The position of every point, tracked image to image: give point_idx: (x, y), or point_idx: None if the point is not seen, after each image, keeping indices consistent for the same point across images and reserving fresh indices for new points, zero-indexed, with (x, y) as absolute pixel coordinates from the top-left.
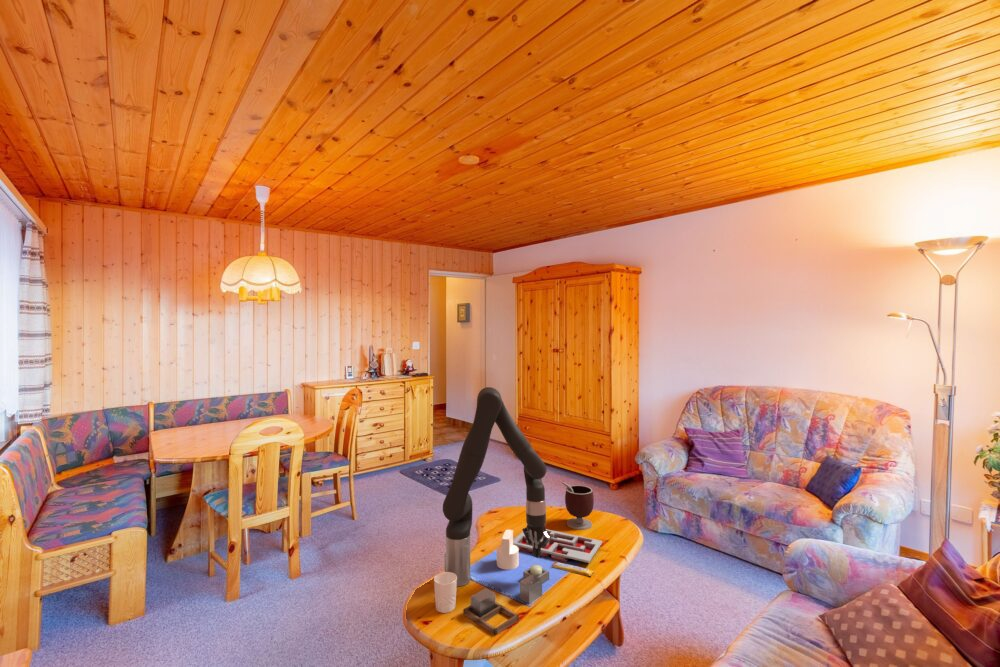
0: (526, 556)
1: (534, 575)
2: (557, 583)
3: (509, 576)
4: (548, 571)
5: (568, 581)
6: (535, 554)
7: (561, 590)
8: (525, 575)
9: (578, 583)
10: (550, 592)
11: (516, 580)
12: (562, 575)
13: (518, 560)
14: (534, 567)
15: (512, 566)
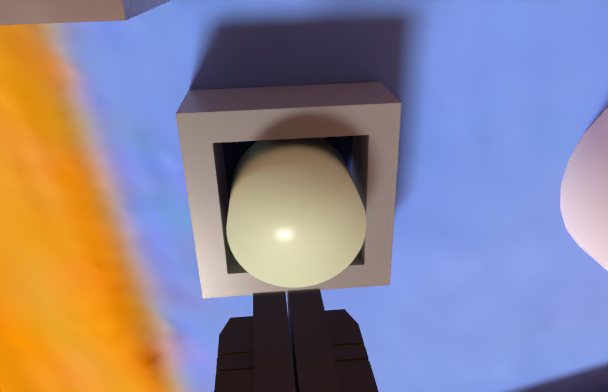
0: (580, 351)
1: (74, 13)
2: (117, 260)
3: (529, 20)
4: (209, 294)
5: (86, 337)
6: (275, 322)
7: (2, 209)
8: (360, 96)
9: (16, 367)
10: (30, 112)
11: (425, 17)
12: (185, 360)
13: (592, 248)
14: (315, 220)
15: (594, 151)
